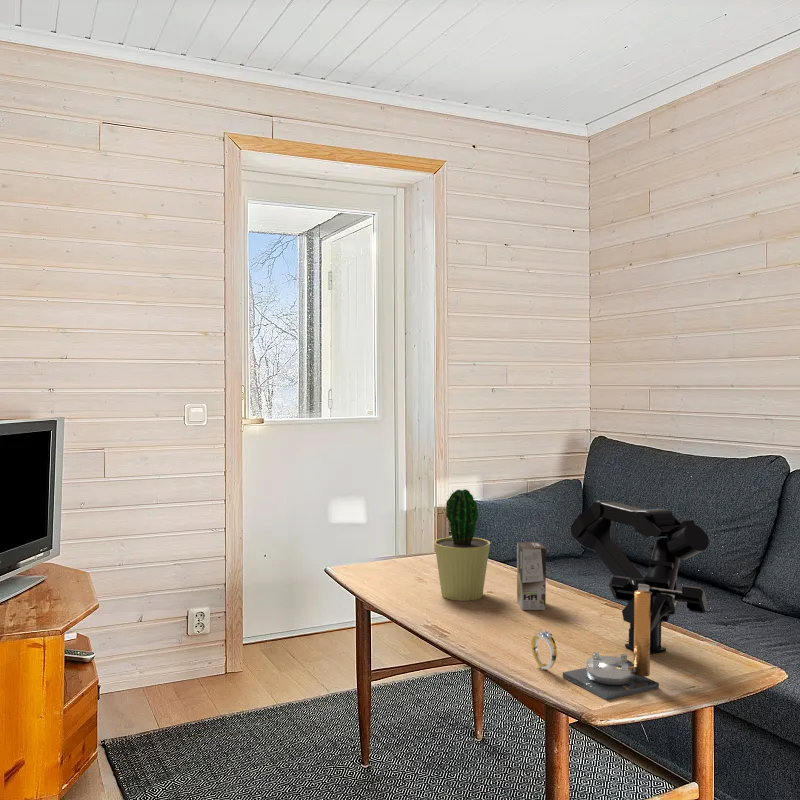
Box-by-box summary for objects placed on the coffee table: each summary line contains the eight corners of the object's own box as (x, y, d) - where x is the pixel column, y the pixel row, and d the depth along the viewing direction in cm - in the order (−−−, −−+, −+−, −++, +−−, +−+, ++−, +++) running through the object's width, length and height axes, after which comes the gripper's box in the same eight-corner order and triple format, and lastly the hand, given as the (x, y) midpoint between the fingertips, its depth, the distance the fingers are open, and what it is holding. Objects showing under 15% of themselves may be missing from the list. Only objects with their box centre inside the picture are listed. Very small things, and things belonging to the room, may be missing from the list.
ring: (559, 673, 165) (560, 634, 165) (546, 675, 164) (546, 636, 164) (541, 662, 172) (541, 625, 172) (528, 664, 171) (528, 626, 171)
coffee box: (546, 610, 211) (546, 548, 210) (521, 610, 211) (521, 548, 210) (540, 600, 220) (540, 541, 219) (516, 600, 220) (516, 541, 219)
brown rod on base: (586, 682, 157) (586, 594, 157) (586, 666, 166) (587, 583, 165) (651, 687, 154) (652, 598, 154) (648, 671, 163) (648, 586, 163)
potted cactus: (489, 588, 232) (490, 483, 232) (490, 603, 217) (490, 491, 216) (435, 587, 234) (435, 483, 233) (432, 602, 219) (432, 490, 218)
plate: (613, 667, 169) (613, 661, 169) (658, 688, 158) (658, 682, 158) (562, 677, 163) (562, 671, 163) (606, 700, 152) (606, 694, 152)
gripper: (716, 591, 172) (703, 659, 163) (628, 579, 182) (611, 642, 173) (708, 561, 165) (694, 630, 156) (617, 551, 175) (599, 614, 166)
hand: (648, 630), depth 163 cm, fingers closed
